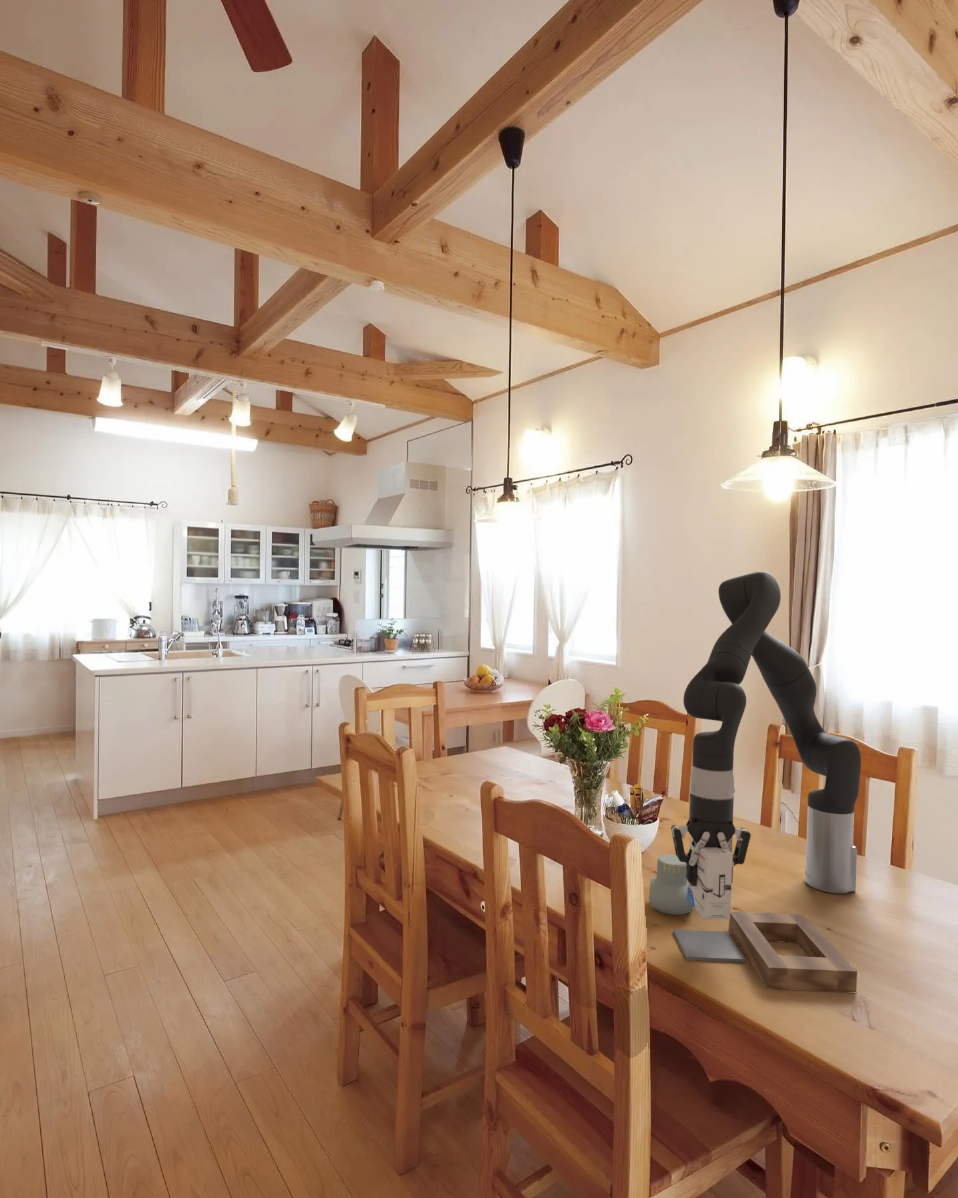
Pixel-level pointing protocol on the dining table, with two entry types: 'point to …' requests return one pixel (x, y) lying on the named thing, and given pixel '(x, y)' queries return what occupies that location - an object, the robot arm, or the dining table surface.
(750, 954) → the pocket
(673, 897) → the air freshener
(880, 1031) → the dining table surface
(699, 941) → the coaster
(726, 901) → the ink box
